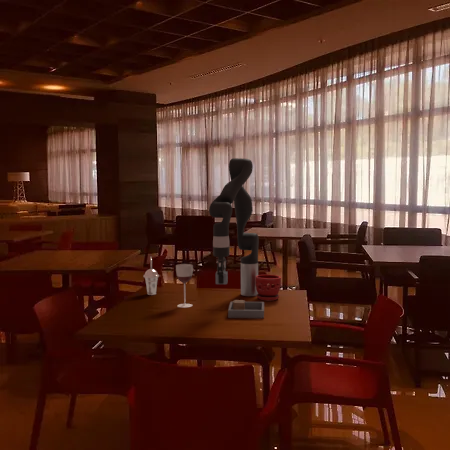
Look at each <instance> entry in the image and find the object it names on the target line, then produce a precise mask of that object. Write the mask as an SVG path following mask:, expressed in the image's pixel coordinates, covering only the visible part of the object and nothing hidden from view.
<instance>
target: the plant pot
mask: <svg viewBox="0 0 450 450" xmlns="http://www.w3.org/2000/svg"><path fill="white" fill-rule="evenodd" d="M255 281H256V290H257V292H258V294H257V295H256V298H257V299H258V300H261V301H265V302H268V301H269V302H270V301H272V302H273V301H276V300H278V299H279V298H280V294H279V292H280V290H281V284H282V277H281V276H280V275H275V274H258V275H257V276H256V279H255Z"/></svg>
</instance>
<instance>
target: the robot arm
mask: <svg viewBox="0 0 450 450" xmlns="http://www.w3.org/2000/svg"><path fill="white" fill-rule="evenodd" d="M253 166H254V165H253V161H252V160H251V159H249V158H238V157H234V158H231V159H230V160H229V163H228V171H229V177H230V181H229V182H227V183H225V185H224V187H223V188H222V190H221V191H220V193H219V195H218V196H216V197H215V199H214V200H212V202H211V203H210V204H209V208H208V213H209V215H210V216H211V217H212V218H219V219H221V218H222V220H221V221H220V222H219V221H218V222H216V223H213V229H212V230H213V231H212V232H213V237H212V238H213V240H212V254H213V257H217V260H216V267H217V268H216V270H217V271H216V272H217V274H218V275H219V276H218V277H219V284H218V285H224V284H223V283H224V280H223V275H224V271H226V270H227V269H226V268H227V258H226V257H229V256H230V254H231V253H230V248H231V247H230V236H229V235H230V231H229V230H230V228H229V227H230V223H231V218H232V214H233V205H234V212H235V221H236V234H237V236H236V237H237V238H236V239H237V247H238V249H239V250H241V251H250V252H251V253H250V254H247V255H245V256H242V257H240V295H241V296H243V297H244V296H245V297H257V294H258V292H257V290H256V281H255V279H256V276H257V275H259V245H260V239H259V235H258V233H256V232H245V227H246V225H247V223H248V221H249V220H250V218H251V216H252V214H253V212H254V211H253V208H254V207H253V200H252V197H251V195H250V194H249V192H248V191H247V190H246V188H245V187H244V185H245V183H246V182H247V181H248V179H249V178H250V177H251V176H252V172H253V168H254V167H253ZM232 204H233V205H232ZM219 271H222V272H219Z"/></svg>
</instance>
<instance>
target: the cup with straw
mask: <svg viewBox="0 0 450 450" xmlns="http://www.w3.org/2000/svg"><path fill="white" fill-rule="evenodd" d="M149 258H150V268H149V269H147V270H146V271H145V273H144V274H143V278H144V279H145V284H146V293H147V295H149V296H155V295H157V285H158V280H159V277H160V274H158V271H157V270H156V269H154V268H153V259H152V258H153V257H152V256H150V257H149Z"/></svg>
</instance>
